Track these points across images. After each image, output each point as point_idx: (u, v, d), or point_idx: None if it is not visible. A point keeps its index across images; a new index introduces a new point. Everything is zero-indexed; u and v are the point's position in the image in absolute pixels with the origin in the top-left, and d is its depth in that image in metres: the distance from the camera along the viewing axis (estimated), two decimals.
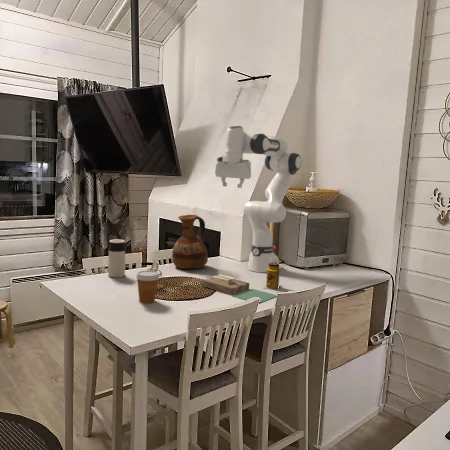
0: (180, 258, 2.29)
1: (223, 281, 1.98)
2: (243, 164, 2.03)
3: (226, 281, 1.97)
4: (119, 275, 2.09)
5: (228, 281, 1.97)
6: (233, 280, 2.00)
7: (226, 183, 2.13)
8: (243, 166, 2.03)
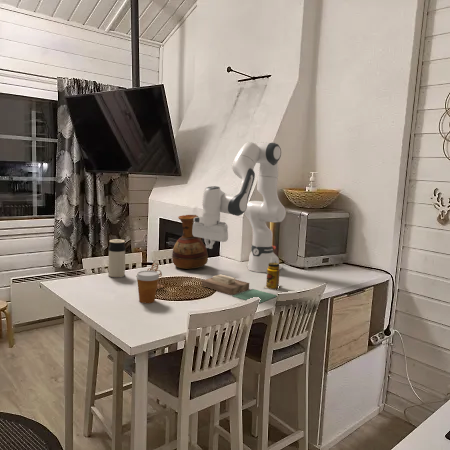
0: (180, 258, 2.29)
1: (223, 281, 1.98)
2: (220, 227, 1.98)
3: (226, 281, 1.97)
4: (119, 275, 2.09)
5: (228, 281, 1.97)
6: (233, 280, 2.00)
7: None
8: (220, 229, 1.98)
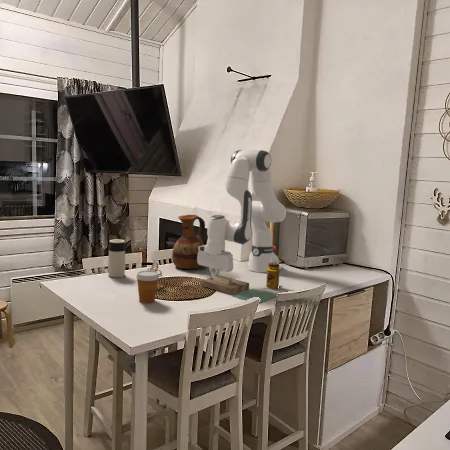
0: (180, 258, 2.29)
1: (223, 281, 1.98)
2: (225, 257, 1.97)
3: (226, 281, 1.97)
4: (119, 275, 2.09)
5: (228, 281, 1.97)
6: (233, 280, 2.00)
7: None
8: (225, 259, 1.97)
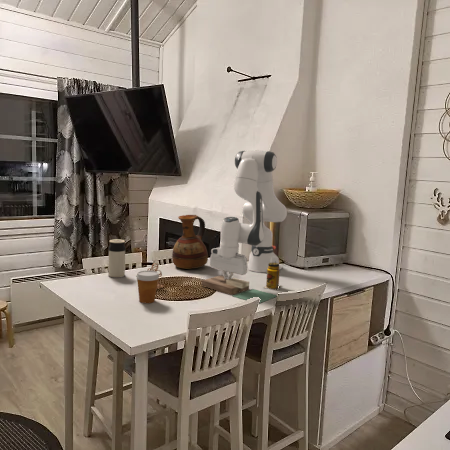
0: (180, 258, 2.29)
1: (237, 285, 1.93)
2: (239, 260, 1.92)
3: (240, 285, 1.92)
4: (119, 275, 2.09)
5: (242, 285, 1.92)
6: (247, 284, 1.95)
7: None
8: (239, 262, 1.92)
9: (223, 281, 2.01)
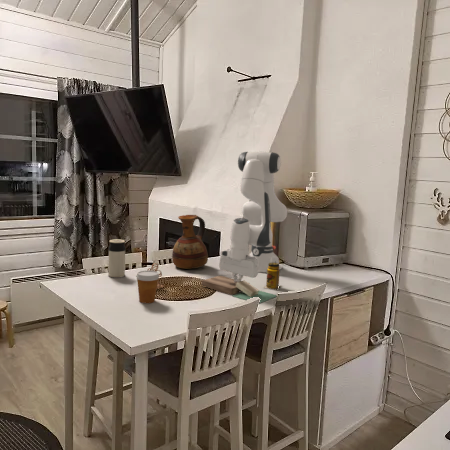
0: (180, 258, 2.29)
1: (246, 292, 1.89)
2: (250, 262, 1.89)
3: (250, 293, 1.88)
4: (119, 275, 2.09)
5: (252, 293, 1.89)
6: (256, 292, 1.92)
7: None
8: (250, 264, 1.89)
9: (223, 281, 2.01)
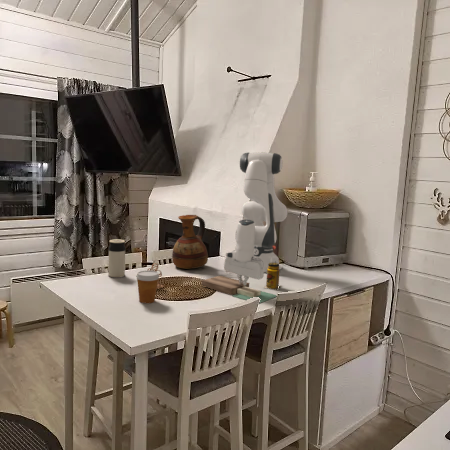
0: (180, 258, 2.29)
1: (248, 294, 1.89)
2: (256, 264, 1.88)
3: (252, 294, 1.88)
4: (119, 275, 2.09)
5: (254, 294, 1.88)
6: (259, 293, 1.91)
7: None
8: (256, 266, 1.88)
9: (223, 281, 2.01)
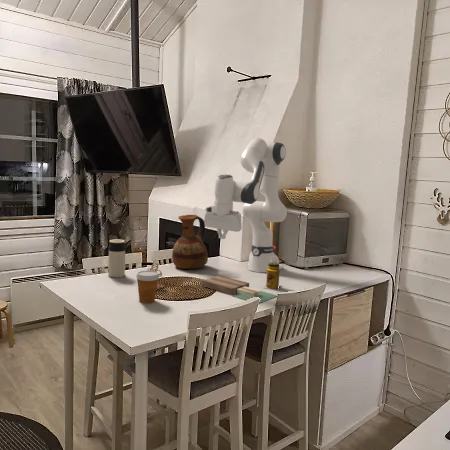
0: (180, 258, 2.29)
1: (248, 294, 1.89)
2: (233, 217, 1.93)
3: (252, 294, 1.88)
4: (119, 275, 2.09)
5: (254, 294, 1.88)
6: (259, 293, 1.91)
7: (222, 235, 2.01)
8: (233, 218, 1.93)
9: (223, 281, 2.01)
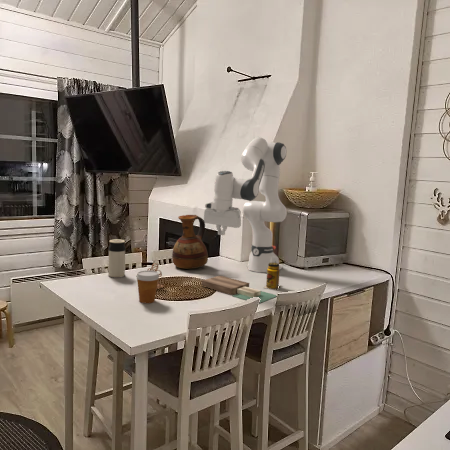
0: (180, 258, 2.29)
1: (248, 294, 1.89)
2: (233, 213, 1.93)
3: (252, 294, 1.88)
4: (119, 275, 2.09)
5: (254, 294, 1.88)
6: (259, 293, 1.91)
7: None
8: (233, 215, 1.93)
9: (223, 281, 2.01)
